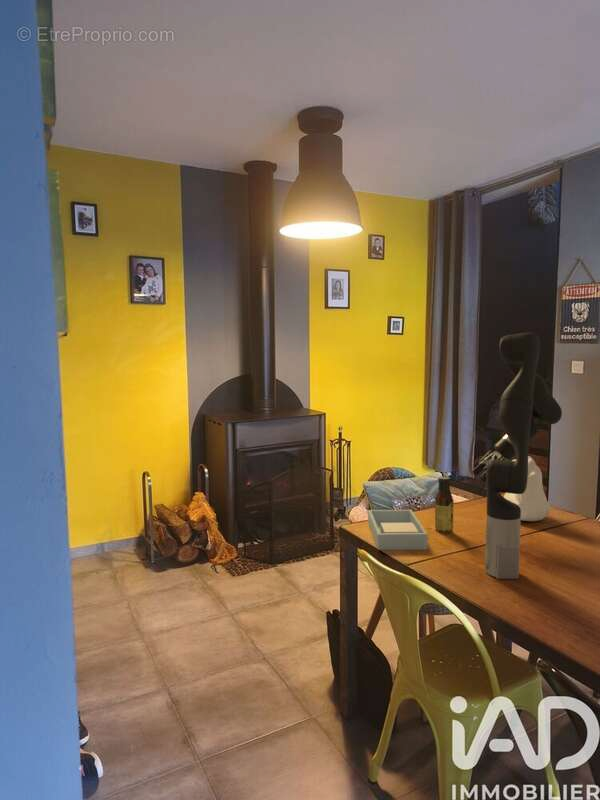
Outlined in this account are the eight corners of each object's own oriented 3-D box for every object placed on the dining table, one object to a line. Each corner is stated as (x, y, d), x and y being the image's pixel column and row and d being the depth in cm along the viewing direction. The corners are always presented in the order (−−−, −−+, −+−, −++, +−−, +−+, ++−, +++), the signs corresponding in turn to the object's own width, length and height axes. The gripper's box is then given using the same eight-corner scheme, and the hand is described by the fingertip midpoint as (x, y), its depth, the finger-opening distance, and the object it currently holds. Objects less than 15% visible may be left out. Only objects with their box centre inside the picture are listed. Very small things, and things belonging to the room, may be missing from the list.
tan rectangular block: (418, 546, 175) (418, 531, 174) (384, 546, 175) (384, 531, 174) (412, 536, 183) (412, 522, 183) (380, 536, 184) (380, 522, 183)
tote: (427, 552, 172) (427, 534, 172) (377, 552, 172) (377, 534, 172) (411, 525, 198) (411, 509, 197) (368, 525, 198) (368, 510, 198)
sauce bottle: (455, 535, 187) (456, 480, 185) (437, 536, 187) (438, 480, 185) (450, 529, 193) (451, 475, 191) (433, 529, 193) (433, 475, 191)
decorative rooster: (553, 528, 194) (556, 460, 191) (507, 525, 197) (509, 459, 195) (539, 507, 218) (541, 447, 216) (498, 505, 222) (500, 446, 219)
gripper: (496, 433, 194) (464, 465, 195) (511, 440, 179) (476, 474, 181) (510, 448, 194) (478, 479, 195) (527, 455, 180) (492, 489, 181)
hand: (477, 476), depth 188 cm, fingers open, 8 cm apart
